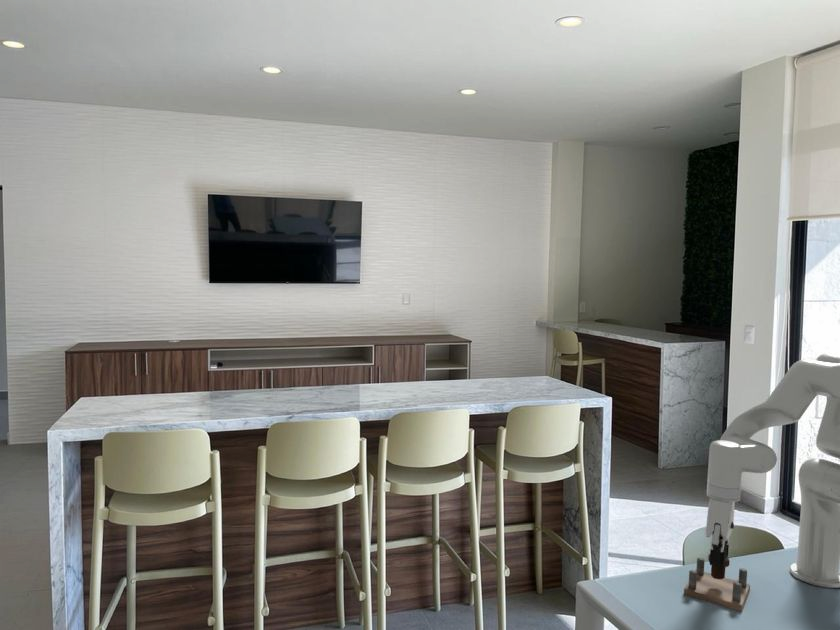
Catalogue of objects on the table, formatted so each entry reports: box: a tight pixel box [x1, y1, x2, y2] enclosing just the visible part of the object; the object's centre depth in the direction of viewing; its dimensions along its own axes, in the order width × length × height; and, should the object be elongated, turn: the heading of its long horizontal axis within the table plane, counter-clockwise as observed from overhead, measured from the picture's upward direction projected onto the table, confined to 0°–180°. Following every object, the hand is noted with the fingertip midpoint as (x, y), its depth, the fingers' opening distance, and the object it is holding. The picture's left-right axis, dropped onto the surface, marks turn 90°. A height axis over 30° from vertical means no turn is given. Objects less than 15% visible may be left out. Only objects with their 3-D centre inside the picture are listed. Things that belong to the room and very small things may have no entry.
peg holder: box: [683, 557, 751, 612], centre depth 159 cm, size 13×13×6 cm
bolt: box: [708, 520, 735, 579], centre depth 159 cm, size 6×5×15 cm
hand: (718, 561), depth 159 cm, fingers closed on bolt, 4 cm apart
